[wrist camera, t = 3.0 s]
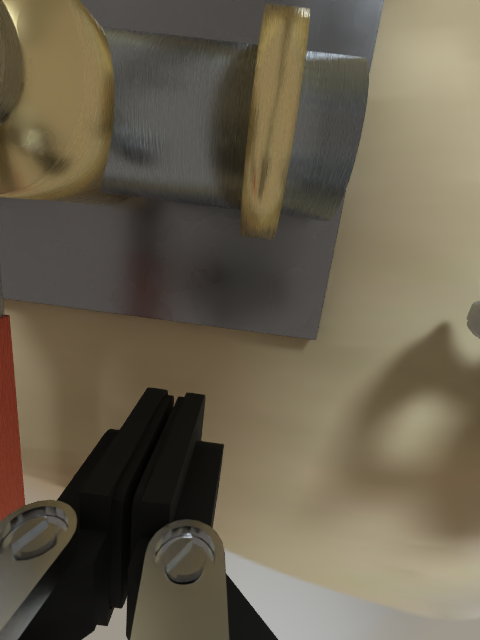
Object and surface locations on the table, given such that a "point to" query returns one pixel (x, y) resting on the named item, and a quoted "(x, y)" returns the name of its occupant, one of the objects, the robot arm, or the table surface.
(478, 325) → the mug
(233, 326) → the valve body
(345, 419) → the table surface
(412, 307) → the table surface
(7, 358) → the lever
